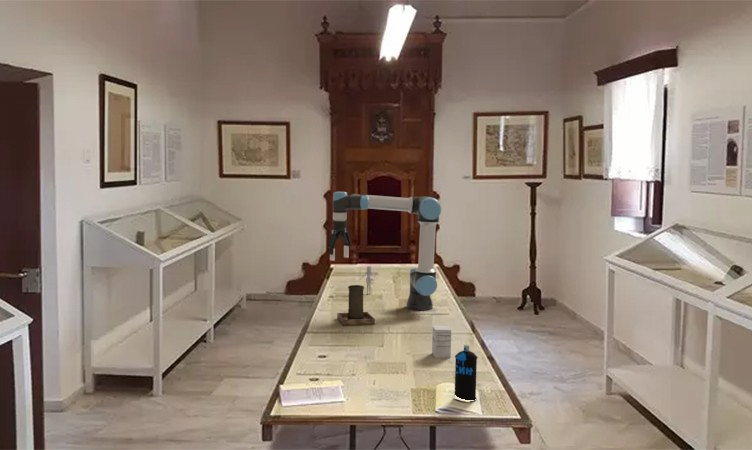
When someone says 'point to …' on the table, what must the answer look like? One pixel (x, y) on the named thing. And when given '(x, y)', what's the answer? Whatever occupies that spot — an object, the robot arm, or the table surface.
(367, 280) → the human figurine
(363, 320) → the walnut tray
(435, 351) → the supplement box
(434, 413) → the table surface
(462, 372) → the aerosol can
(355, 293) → the container
